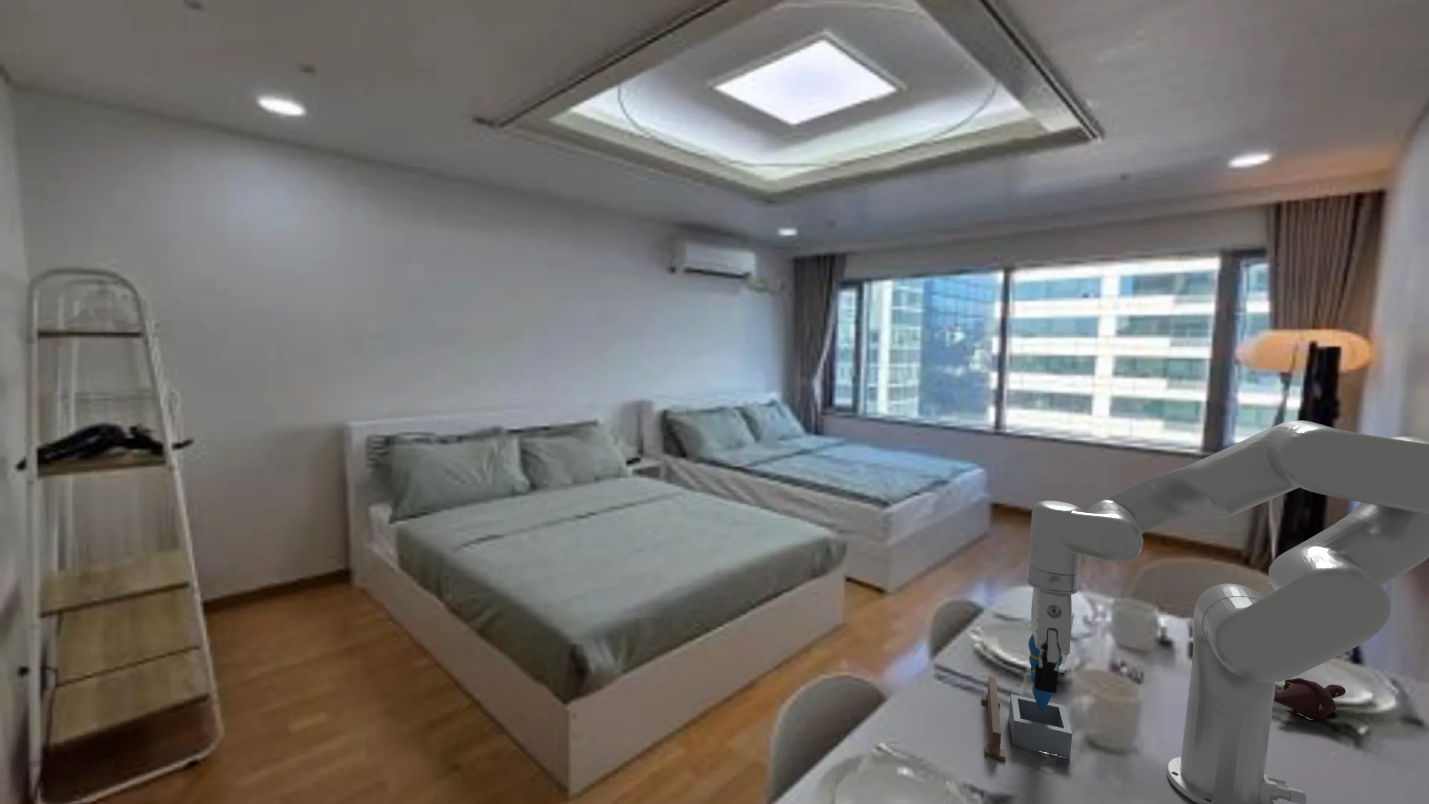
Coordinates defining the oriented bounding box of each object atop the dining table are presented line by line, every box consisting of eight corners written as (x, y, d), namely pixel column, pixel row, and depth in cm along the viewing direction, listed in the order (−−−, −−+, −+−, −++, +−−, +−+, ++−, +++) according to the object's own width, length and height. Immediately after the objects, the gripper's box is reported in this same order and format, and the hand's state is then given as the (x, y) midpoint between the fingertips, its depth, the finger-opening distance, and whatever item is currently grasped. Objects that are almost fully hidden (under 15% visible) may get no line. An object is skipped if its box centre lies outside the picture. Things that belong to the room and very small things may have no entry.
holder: (1062, 730, 108) (1064, 705, 107) (1069, 760, 100) (1072, 733, 99) (1008, 717, 111) (1010, 694, 110) (1012, 746, 103) (1014, 720, 102)
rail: (999, 701, 116) (1001, 678, 115) (1005, 761, 99) (1007, 735, 98) (981, 697, 117) (983, 675, 116) (984, 756, 100) (986, 730, 100)
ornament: (1062, 722, 102) (1070, 635, 100) (1028, 717, 103) (1035, 631, 101) (1051, 704, 107) (1059, 620, 105) (1019, 700, 108) (1026, 617, 106)
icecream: (1303, 700, 108) (1370, 700, 111) (1262, 668, 115) (1326, 669, 118) (1285, 730, 110) (1350, 729, 113) (1246, 697, 117) (1308, 697, 120)
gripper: (1088, 601, 93) (1077, 715, 95) (1070, 564, 109) (1061, 663, 111) (1032, 592, 96) (1022, 703, 98) (1022, 557, 112) (1014, 654, 113)
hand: (1043, 681), depth 104 cm, fingers closed on ornament, 4 cm apart
